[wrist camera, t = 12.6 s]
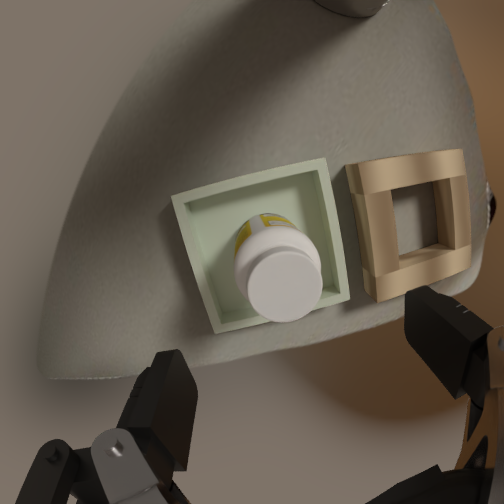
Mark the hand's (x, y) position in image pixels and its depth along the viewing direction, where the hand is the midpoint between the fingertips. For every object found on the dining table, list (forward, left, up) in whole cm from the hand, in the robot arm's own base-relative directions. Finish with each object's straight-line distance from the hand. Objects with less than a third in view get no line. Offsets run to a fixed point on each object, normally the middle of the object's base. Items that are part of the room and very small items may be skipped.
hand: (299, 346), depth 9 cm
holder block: (+8, +12, -16) cm, 21 cm away
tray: (0, 0, -16) cm, 16 cm away
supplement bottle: (0, 0, -16) cm, 16 cm away
